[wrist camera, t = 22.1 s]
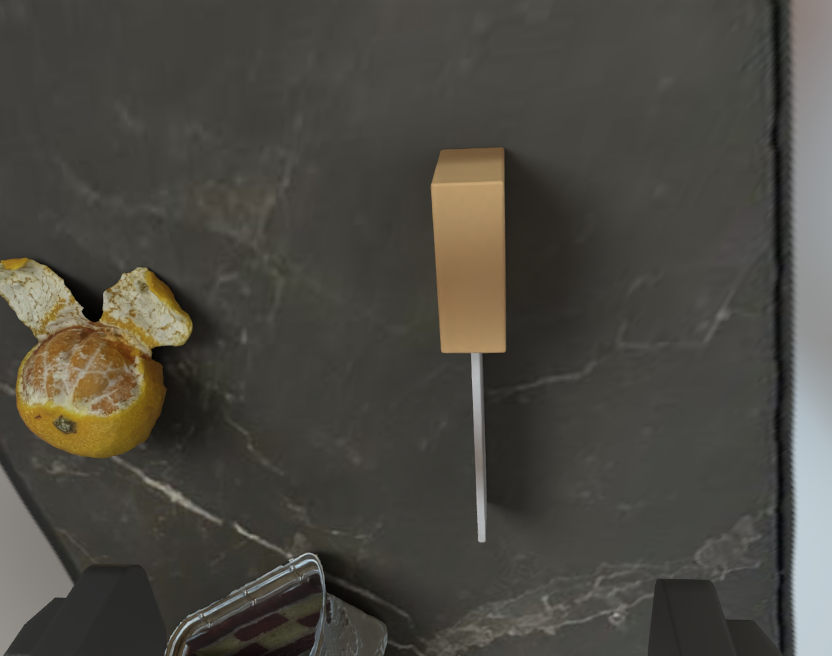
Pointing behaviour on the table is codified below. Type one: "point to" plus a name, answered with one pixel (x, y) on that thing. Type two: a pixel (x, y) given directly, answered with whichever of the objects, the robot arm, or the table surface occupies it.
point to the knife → (471, 272)
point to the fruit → (92, 358)
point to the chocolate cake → (281, 620)
